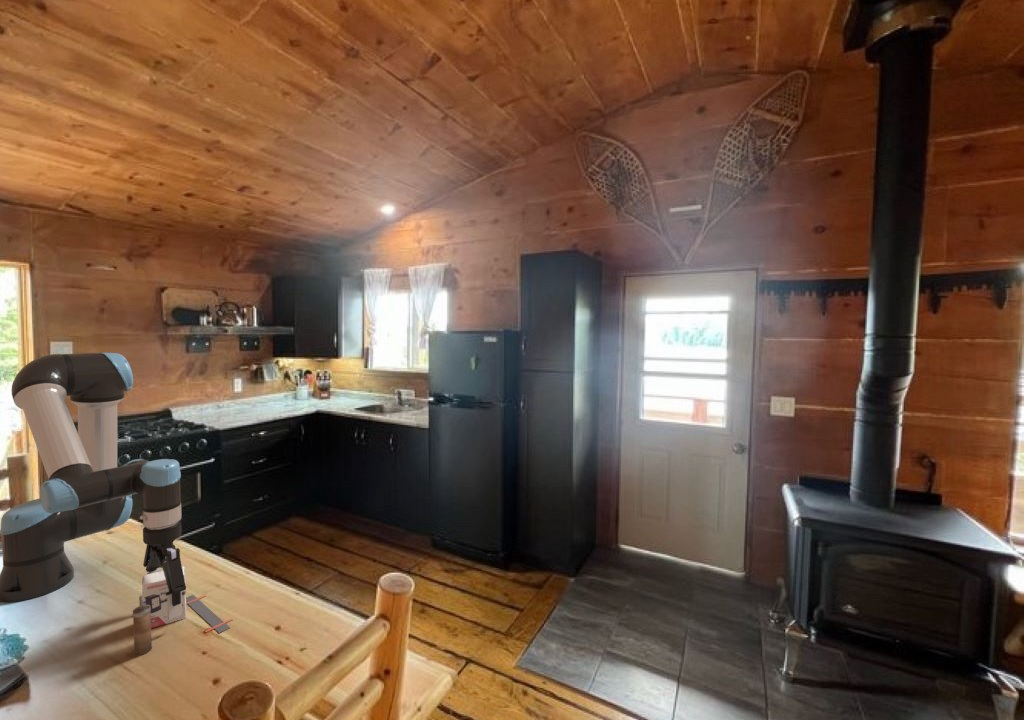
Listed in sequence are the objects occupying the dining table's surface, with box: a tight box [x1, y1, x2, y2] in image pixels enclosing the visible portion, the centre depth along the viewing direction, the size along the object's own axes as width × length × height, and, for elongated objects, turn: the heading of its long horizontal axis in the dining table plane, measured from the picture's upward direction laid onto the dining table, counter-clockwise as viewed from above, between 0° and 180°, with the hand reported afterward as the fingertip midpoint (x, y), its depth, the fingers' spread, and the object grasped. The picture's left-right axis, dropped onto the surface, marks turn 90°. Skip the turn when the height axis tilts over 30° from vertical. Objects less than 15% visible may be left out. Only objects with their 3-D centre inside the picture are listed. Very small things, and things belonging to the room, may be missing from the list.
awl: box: [132, 595, 153, 657], centre depth 102 cm, size 3×3×13 cm
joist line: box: [186, 594, 234, 634], centre depth 116 cm, size 22×6×1 cm, turn 55°
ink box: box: [141, 565, 187, 629], centre depth 113 cm, size 8×5×12 cm, turn 127°
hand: (164, 605), depth 113 cm, fingers open, 13 cm apart
